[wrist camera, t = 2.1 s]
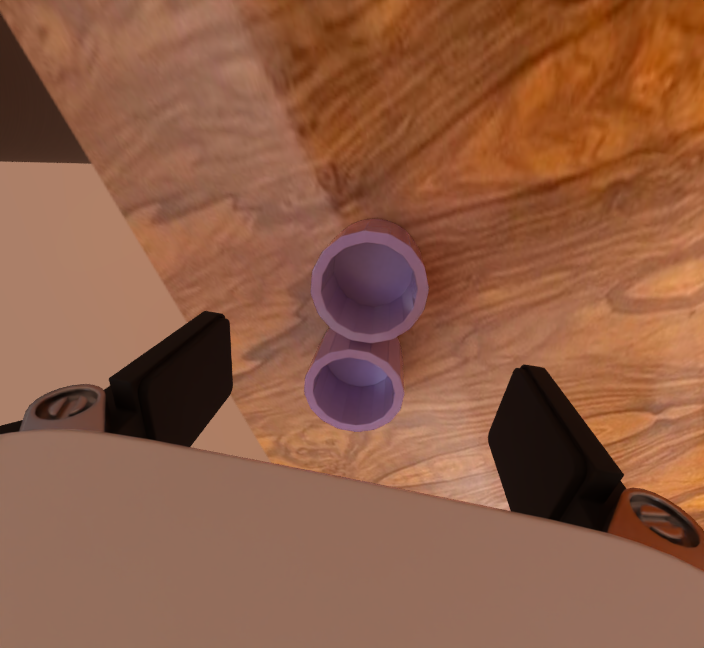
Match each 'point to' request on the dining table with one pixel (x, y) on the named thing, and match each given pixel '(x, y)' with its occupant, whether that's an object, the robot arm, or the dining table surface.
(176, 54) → the dining table surface
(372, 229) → the cup
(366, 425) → the purple cup
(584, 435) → the robot arm
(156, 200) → the dining table surface
